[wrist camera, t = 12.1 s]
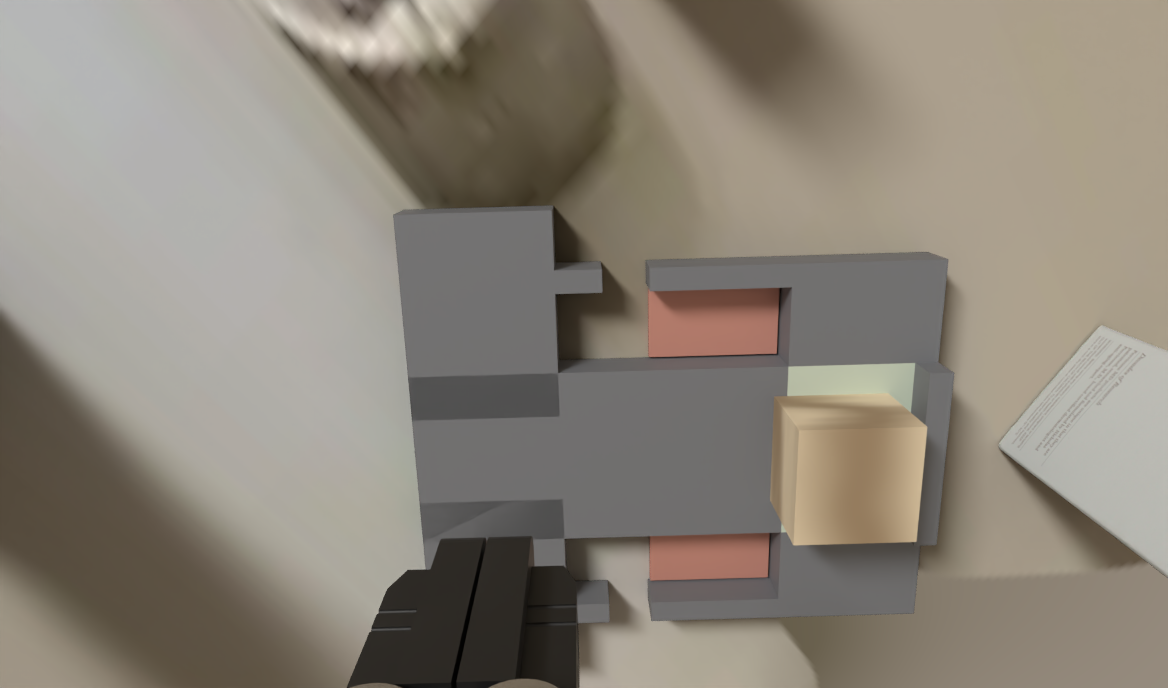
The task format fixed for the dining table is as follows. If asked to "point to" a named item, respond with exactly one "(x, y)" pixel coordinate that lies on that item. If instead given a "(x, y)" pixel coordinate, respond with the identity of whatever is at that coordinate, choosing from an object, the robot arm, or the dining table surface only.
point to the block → (846, 468)
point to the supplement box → (1105, 439)
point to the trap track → (660, 409)
